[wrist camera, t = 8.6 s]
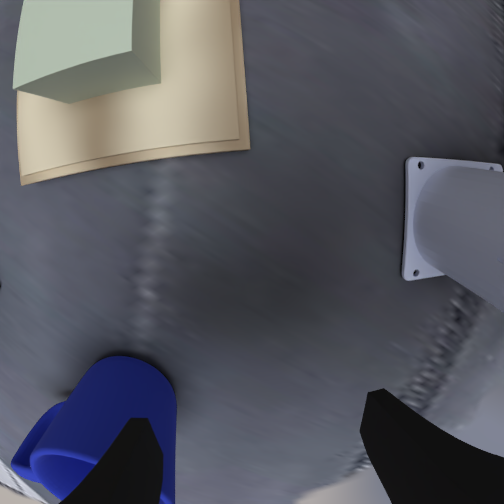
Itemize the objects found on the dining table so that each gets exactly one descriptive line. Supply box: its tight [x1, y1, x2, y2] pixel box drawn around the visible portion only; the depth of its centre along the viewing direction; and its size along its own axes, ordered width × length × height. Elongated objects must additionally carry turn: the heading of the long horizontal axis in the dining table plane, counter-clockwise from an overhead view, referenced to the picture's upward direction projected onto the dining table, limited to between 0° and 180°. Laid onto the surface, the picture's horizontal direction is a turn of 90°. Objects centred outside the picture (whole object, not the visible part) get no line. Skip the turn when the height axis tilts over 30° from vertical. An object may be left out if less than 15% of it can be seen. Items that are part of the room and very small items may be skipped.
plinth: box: [17, 0, 250, 186], centre depth 13 cm, size 13×13×2 cm
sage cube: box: [13, 0, 161, 104], centre depth 10 cm, size 5×5×5 cm
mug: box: [11, 356, 177, 504], centre depth 16 cm, size 8×12×10 cm
